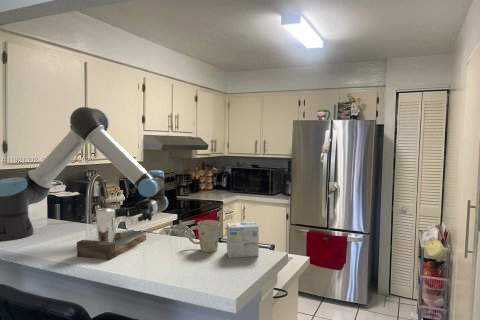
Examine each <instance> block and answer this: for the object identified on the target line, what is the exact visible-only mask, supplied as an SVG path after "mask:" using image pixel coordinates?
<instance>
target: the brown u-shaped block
mask: <svg viewBox="0 0 480 320" xmlns="http://www.w3.org/2000/svg"><path fill="white" fill-rule="evenodd" d="M121 235H122V234H121V232H115V238H114V242H104V241H99V240H90V239H81V240H77V241H76V256H77V258H78V257H80V258H90V259H99V260H100V259H101V260H110V261H111V260H113V259H115V258H116V257H118V256H120V255H122V254H123V253H125V252H127V251H128V250H131V249H132V248H134V247H136V246H138V245H140V244H142V243H144V242H146V241H147V234H142V235H139V236H137V237H135V238H134V239H132V240H129V241H128V242H126V243H124V244H122V245H120V246H118V247H116V245H117V244H116V241H117V240H120V239H121V237H122V236H121ZM141 242H142V243H141ZM139 243H140V244H139ZM137 244H138V245H137Z"/></svg>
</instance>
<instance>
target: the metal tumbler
mask: <svg viewBox="0 0 480 320" xmlns="http://www.w3.org/2000/svg"><path fill="white" fill-rule="evenodd" d="M116 209H117V208H114V207H113V208H112V207H111V208H110V207H109V208H107V207H106V208H105V207H104V208H100V209H99V208H98V209H96V210H95V212H96V213H95V228H96V234H97V235H96V236H97V241H104V242H115V241H114V238H115V234H116V233H117V232H116V231H117V217H116Z"/></svg>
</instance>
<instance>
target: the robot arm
mask: <svg viewBox="0 0 480 320" xmlns="http://www.w3.org/2000/svg"><path fill="white" fill-rule="evenodd" d="M69 123H70V125H69V130H70V131H69V132H68V133H67V135H65V137H63V138H62V140H61V141H60V142H59V143H58V144H57V145H56V147H54V148H53V150H52V151H51V152H50V153H49V154H48V155H47V156H46V158H44V159H43V160H42V161H41V163H40V164H39V165H38V166H37V167H36V168H35V169H30V170H29V171H28V172H27V173H26V174H25V175H24V176H23V177H8V178H1V179H0V241H11V240H17V239H18V240H19V239H24V238H26V237H29V236H32V235H33V234H34V226H33V224H32V221H31V218H30V215H29V206H30V205H33V204H38V203H40V202H41V201H43V200H45V199H46V198H47V197H48V195H49V193H50V190H51V189H52V187H53V184H54V183H53V181H54V180H55V179H56V178H57V177H58V176H59V175H60V174H61V172H62V171H64V170H65V168H66V167H67V166H68V164H70V163H71V161H72V160H73V159H74V158H75V157H76V156H77V155H78V154H79V153H80V152H81V150H83V149H84V147H85V146H86V145H87V144H91V145H92V146H93V147H94V148H95V149H96V150H97V151H98V152H99V153H101V155H102V156H104V157H105V158H106V159H107V160H108V161H109V162H110V163H111V164H112V165H113V166H114V167H115V168H116V169H117V170H118V171H119V172H120V173H122V175H123V176H125V178H127V180H129V181H130V182H131V183H132V184H133V185H134V186H135V188H137V191H138V193H139V195H140V196H142V197H144V198H146V199H143V200H140V201H137V202H135V203H134V204H133V205H134V206H131V207H126V206H124V207H121V208H115V209H116V218H120V217H126V218H131V219H130V220H131V225H132V226H133V225H136V224H138V223H141V222H143V221H147V220H148V221H152V218H153V216H154V215H156V214H160V213H162V212H163V211H165V210H166V209H167V208H168V205H169V200H168V198H167V197H166V196H165V172H164V170H161V169H160V170H157V169H155V170H154V169H152V170H148V171H147V170H146V169H145V168H144V167H143V166H142V165H141V164H140V163H139V162H138V161H137V160H136V159H135V158H134V157H133V156H132V155H131V154H130V153H129V152H128V151H127V150H126V149H125V148H123V147H122V145H120V144H119V143H118V142H117V140H116V139H114V137H112V136H111V135H110V134H109V133H108V132H107V131H108V129H109V128H110V127H109V126H110V120H109V117H108V116H107V114H106V113H105V112H104V111H102V110H101V109H97V108H92V107H88V106H81V107H78V108H76V109H75V110H73V112H72V113H71V115H70V117H69Z"/></svg>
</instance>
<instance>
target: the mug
mask: <svg viewBox="0 0 480 320" xmlns="http://www.w3.org/2000/svg"><path fill="white" fill-rule="evenodd" d="M220 229H221V222H220V221H219V220H216V219H215V220H214V219H213V220H212V219H205V220H199V221H198V222H197V225H193V226H191V227H190V228H189V229H188V230H187V239H188V241H190V242H191V243H192V244H194V245H199V247H200V251H201V252H204V253H213V252H216V251H218V245H219V240H220V239H219V237H220ZM194 230H198V231H197V232H198V239H199V241H195V240H194V239H193V237H192V232H193V231H194Z"/></svg>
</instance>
